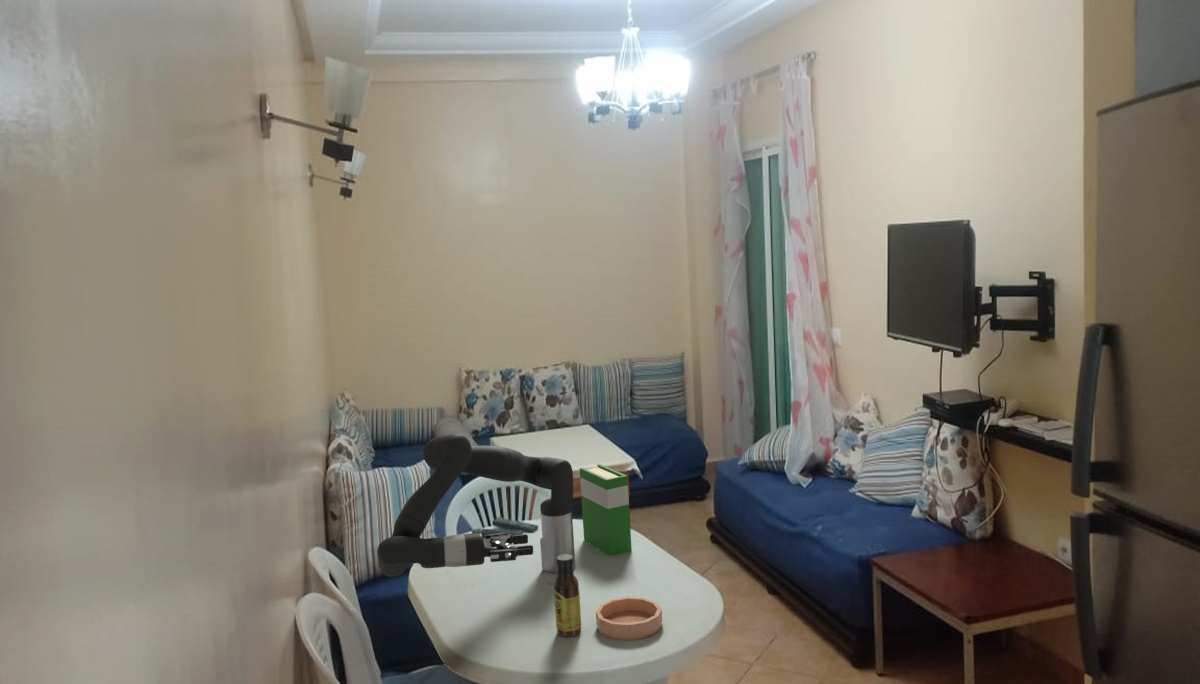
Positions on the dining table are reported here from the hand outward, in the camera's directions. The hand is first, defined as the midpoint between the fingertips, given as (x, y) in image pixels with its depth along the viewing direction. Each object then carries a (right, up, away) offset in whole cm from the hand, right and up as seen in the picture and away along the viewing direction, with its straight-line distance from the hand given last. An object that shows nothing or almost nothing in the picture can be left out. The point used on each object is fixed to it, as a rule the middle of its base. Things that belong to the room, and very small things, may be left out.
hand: (530, 543), depth 220 cm
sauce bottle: (+9, -23, +5) cm, 26 cm away
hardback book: (+19, -15, +65) cm, 69 cm away
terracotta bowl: (+24, -22, +7) cm, 34 cm away
